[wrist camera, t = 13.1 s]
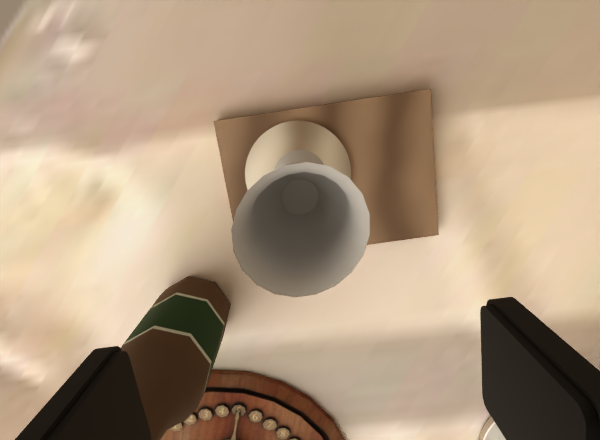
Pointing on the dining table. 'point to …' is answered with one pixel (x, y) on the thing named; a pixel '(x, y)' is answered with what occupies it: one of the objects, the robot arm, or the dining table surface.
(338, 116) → the walnut board
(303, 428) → the wooden control board
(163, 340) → the beer bottle
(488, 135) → the dining table surface
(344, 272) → the chalice
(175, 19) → the dining table surface
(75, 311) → the dining table surface
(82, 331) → the dining table surface
